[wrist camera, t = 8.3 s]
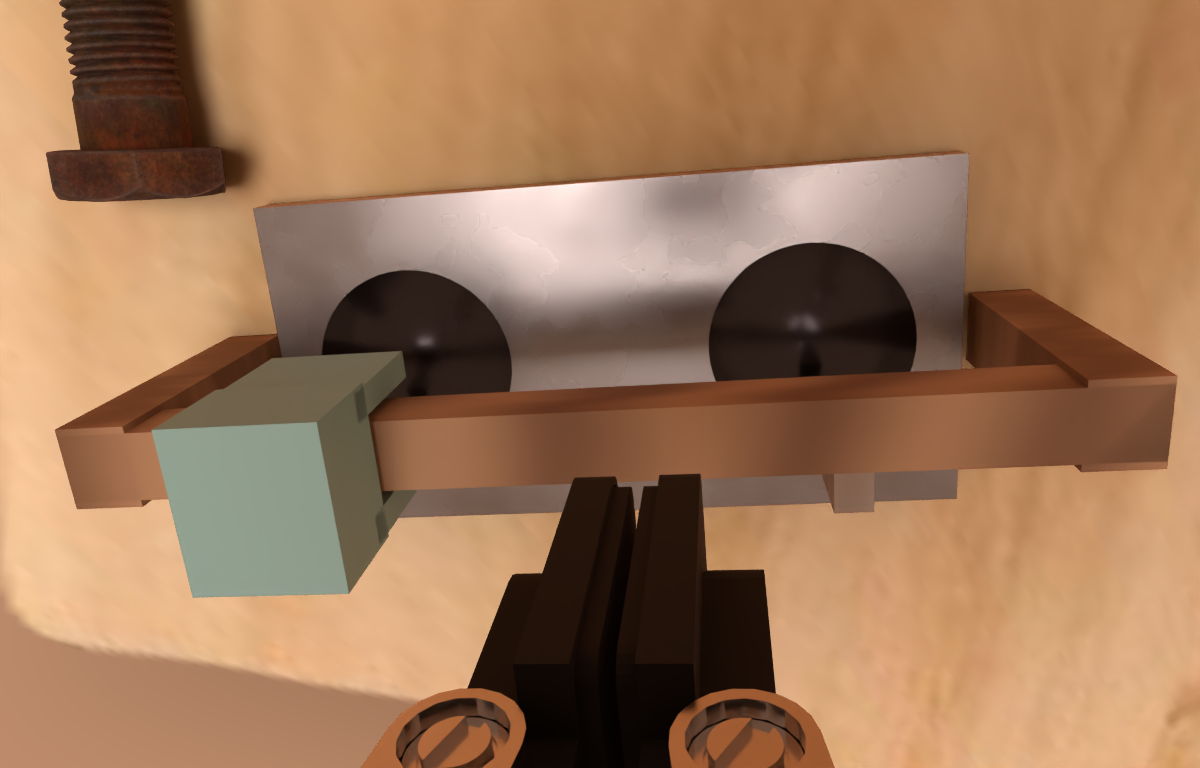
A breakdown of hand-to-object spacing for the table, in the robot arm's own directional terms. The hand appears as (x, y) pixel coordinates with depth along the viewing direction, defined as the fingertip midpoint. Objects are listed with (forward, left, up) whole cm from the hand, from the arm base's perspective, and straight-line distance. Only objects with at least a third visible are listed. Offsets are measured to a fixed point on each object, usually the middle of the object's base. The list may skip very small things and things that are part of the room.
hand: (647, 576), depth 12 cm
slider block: (+10, +3, -20) cm, 22 cm away
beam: (+2, +3, -21) cm, 21 cm away
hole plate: (+2, +3, -21) cm, 21 cm away
